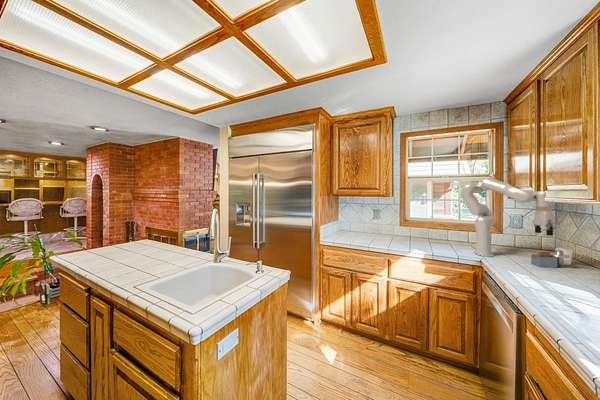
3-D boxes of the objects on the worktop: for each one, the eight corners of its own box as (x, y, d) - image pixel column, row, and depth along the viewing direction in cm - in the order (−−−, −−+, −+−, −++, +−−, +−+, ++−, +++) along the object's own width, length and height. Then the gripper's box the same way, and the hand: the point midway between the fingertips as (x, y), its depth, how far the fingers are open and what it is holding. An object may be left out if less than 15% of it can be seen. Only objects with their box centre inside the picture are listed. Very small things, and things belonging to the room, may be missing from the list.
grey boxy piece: (530, 263, 158) (530, 248, 158) (561, 264, 154) (561, 248, 154) (540, 267, 150) (540, 251, 149) (574, 269, 145) (574, 252, 145)
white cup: (561, 264, 154) (561, 250, 153) (551, 261, 161) (551, 247, 161) (576, 265, 152) (576, 250, 152) (565, 261, 160) (565, 248, 159)
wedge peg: (537, 264, 155) (537, 250, 155) (546, 265, 154) (546, 250, 154) (540, 266, 152) (540, 251, 152) (549, 266, 151) (549, 252, 151)
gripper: (527, 208, 161) (527, 231, 162) (547, 210, 144) (547, 236, 145) (540, 208, 159) (540, 231, 160) (562, 210, 142) (561, 236, 143)
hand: (543, 234), depth 152 cm, fingers open, 9 cm apart
